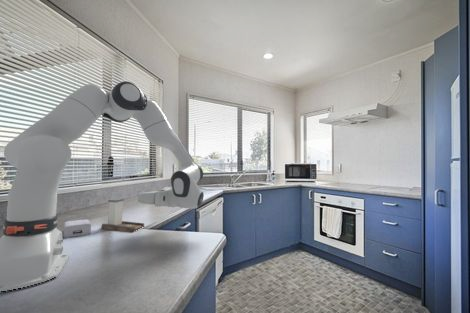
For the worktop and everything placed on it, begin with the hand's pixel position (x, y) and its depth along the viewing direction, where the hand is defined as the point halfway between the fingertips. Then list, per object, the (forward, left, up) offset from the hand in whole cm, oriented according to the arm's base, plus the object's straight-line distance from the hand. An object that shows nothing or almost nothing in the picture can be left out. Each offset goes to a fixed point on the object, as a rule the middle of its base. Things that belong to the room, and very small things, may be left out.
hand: (141, 194), depth 104 cm
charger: (+12, +24, -17) cm, 32 cm away
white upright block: (+11, +9, -15) cm, 21 cm away
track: (+7, +6, -17) cm, 19 cm away
